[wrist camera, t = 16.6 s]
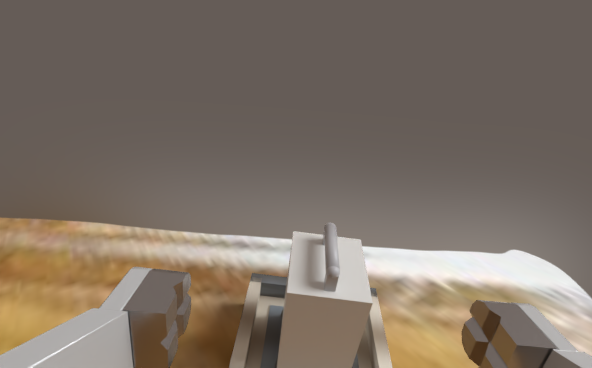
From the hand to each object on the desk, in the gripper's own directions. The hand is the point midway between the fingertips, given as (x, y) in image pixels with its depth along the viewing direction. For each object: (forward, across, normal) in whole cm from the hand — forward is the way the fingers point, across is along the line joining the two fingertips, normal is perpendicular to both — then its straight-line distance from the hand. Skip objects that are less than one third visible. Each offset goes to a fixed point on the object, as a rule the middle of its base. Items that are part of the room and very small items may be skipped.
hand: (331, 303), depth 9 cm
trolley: (+15, -2, +19) cm, 25 cm away
